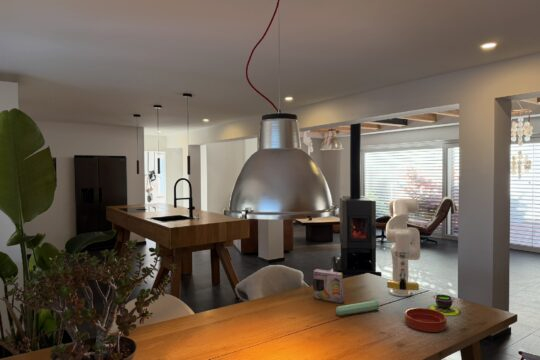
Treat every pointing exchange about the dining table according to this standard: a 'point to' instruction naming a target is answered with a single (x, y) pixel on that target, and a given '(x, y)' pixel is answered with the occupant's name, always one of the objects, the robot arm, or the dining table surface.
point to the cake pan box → (328, 285)
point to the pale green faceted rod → (357, 308)
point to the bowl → (425, 319)
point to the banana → (397, 285)
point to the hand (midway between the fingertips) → (402, 287)
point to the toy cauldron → (444, 305)
